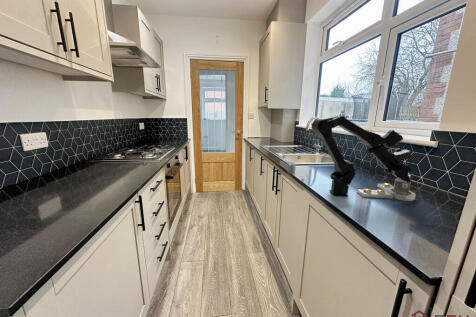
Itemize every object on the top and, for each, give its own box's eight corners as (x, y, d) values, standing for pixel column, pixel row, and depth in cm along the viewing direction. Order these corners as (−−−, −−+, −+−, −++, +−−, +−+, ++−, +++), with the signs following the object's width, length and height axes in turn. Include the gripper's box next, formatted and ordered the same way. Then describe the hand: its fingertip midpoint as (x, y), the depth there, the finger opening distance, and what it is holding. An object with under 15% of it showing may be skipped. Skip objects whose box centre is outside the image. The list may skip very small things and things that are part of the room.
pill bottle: (410, 197, 88) (415, 176, 86) (396, 196, 89) (400, 175, 87) (403, 192, 93) (407, 173, 91) (389, 191, 94) (393, 172, 92)
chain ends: (365, 198, 88) (366, 193, 88) (347, 185, 106) (348, 180, 105) (420, 201, 86) (421, 196, 85) (392, 187, 103) (393, 182, 103)
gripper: (411, 146, 78) (438, 175, 77) (391, 141, 96) (413, 164, 95) (384, 163, 82) (410, 191, 82) (370, 155, 100) (391, 178, 99)
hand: (406, 180), depth 89 cm, fingers closed on pill bottle, 5 cm apart
